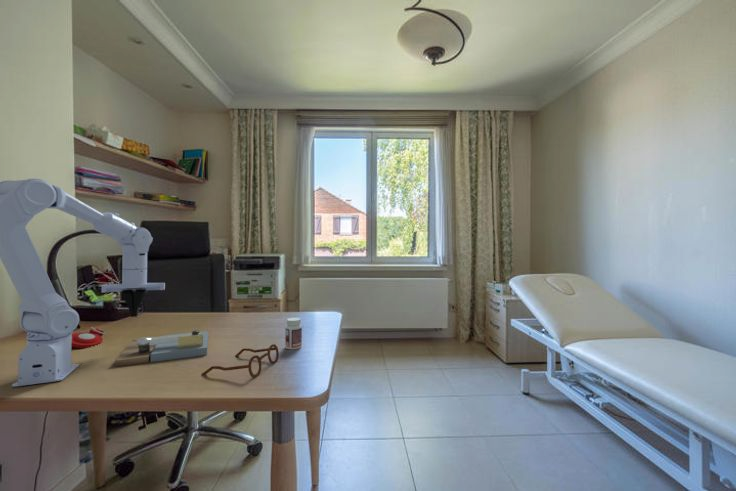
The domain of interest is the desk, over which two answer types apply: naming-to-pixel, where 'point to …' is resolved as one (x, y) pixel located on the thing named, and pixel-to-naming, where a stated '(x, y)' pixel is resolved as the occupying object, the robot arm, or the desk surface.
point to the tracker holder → (87, 338)
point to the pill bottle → (293, 334)
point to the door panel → (178, 350)
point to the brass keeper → (190, 341)
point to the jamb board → (134, 354)
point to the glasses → (250, 361)
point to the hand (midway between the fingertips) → (134, 316)
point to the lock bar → (161, 339)
